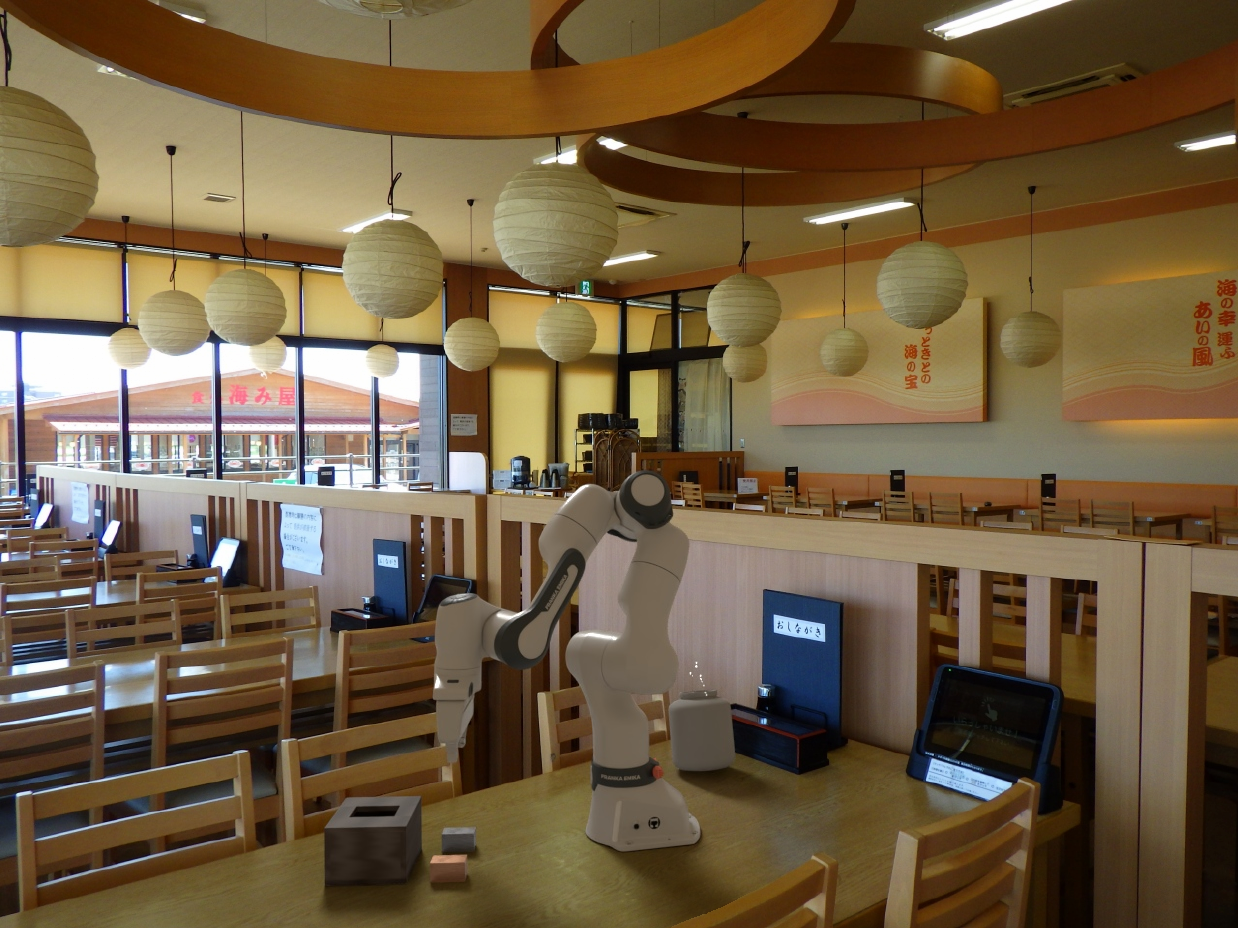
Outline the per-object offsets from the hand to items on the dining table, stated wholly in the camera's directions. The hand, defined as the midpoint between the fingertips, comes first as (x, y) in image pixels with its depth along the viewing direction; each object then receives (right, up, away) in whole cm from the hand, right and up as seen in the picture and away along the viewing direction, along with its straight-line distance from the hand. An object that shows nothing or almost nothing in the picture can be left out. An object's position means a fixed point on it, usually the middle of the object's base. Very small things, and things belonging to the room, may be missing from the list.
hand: (456, 753), depth 167 cm
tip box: (-13, -18, -8) cm, 23 cm away
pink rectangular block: (+1, -18, -12) cm, 22 cm away
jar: (+50, -18, +43) cm, 68 cm away
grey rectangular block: (+1, -18, 0) cm, 18 cm away
